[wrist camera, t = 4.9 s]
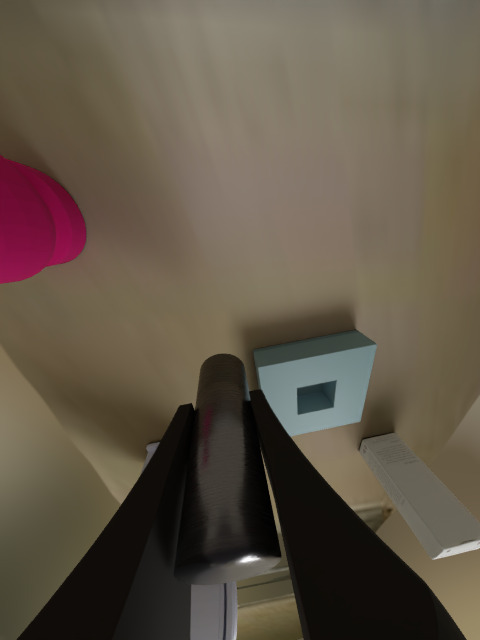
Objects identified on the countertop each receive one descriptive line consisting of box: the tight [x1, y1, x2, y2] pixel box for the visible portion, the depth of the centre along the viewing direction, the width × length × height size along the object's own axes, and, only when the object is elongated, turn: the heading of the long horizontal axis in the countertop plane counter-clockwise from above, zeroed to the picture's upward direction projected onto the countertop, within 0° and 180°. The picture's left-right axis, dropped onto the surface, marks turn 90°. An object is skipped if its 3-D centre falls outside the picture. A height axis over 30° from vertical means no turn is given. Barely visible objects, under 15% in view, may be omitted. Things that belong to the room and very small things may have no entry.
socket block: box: [253, 330, 377, 436], centre depth 22 cm, size 12×12×3 cm
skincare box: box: [359, 433, 480, 559], centre depth 26 cm, size 6×4×12 cm
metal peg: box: [174, 354, 281, 585], centre depth 9 cm, size 3×3×8 cm
